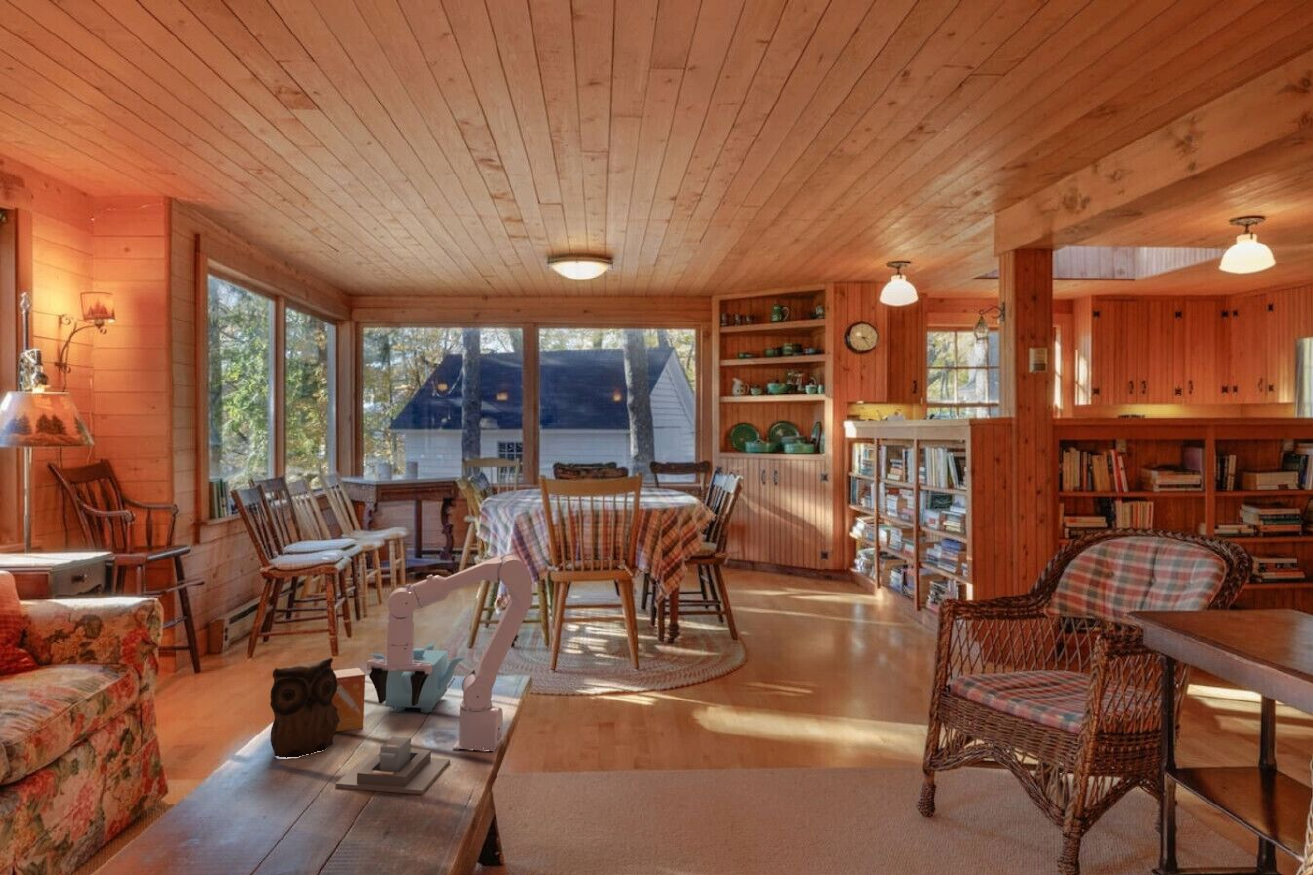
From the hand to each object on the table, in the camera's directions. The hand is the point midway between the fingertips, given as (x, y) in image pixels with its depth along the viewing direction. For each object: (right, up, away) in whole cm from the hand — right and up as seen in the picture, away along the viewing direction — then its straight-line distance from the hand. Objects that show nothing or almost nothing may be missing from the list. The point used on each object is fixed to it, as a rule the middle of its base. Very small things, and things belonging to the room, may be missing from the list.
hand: (398, 703), depth 190 cm
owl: (-22, -10, -1) cm, 24 cm away
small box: (-17, -10, +13) cm, 24 cm away
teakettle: (-4, -10, +31) cm, 33 cm away
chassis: (+3, -11, -13) cm, 17 cm away
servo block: (+3, -10, -13) cm, 17 cm away
